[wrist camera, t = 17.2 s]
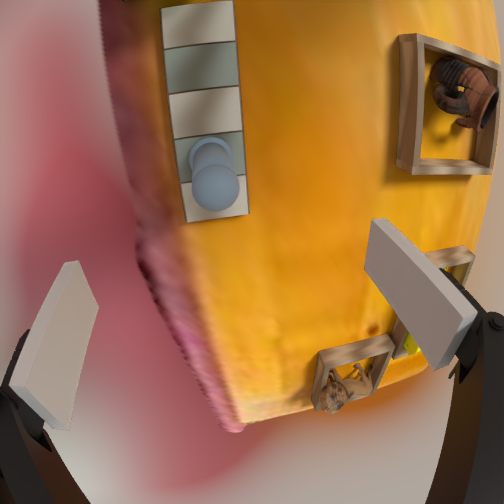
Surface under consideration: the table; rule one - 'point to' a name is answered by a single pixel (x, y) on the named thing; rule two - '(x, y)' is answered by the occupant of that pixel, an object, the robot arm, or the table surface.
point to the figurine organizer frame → (348, 354)
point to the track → (204, 92)
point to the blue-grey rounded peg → (213, 174)
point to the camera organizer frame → (442, 259)
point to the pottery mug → (472, 99)
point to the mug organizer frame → (414, 110)
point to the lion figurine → (344, 389)
